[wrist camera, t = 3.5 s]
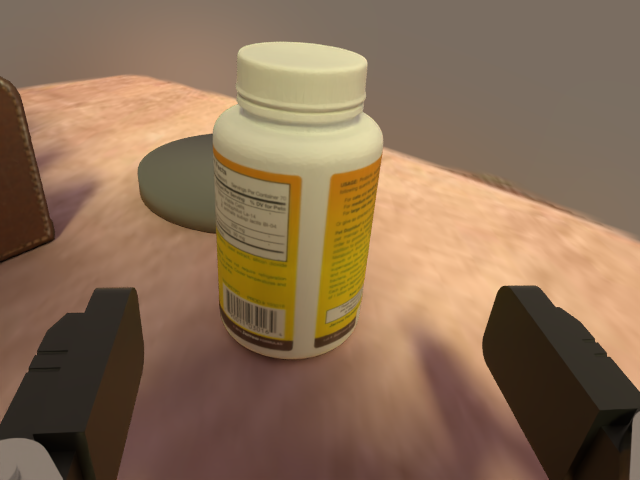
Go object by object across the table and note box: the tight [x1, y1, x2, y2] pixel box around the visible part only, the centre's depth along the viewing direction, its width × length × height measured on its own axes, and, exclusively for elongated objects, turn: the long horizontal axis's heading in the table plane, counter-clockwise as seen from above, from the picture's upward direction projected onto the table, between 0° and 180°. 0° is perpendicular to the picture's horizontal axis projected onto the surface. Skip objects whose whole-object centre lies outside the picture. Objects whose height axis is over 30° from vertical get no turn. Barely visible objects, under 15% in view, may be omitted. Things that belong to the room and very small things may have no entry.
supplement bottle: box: [213, 42, 383, 359], centre depth 18 cm, size 6×6×10 cm
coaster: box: [138, 134, 216, 233], centre depth 31 cm, size 12×12×1 cm
